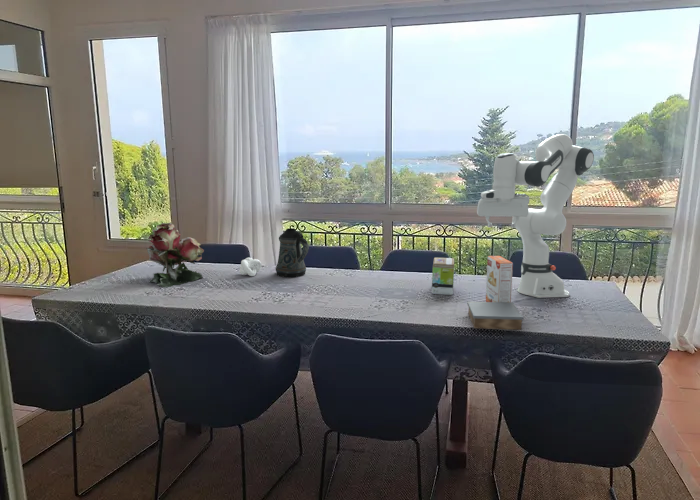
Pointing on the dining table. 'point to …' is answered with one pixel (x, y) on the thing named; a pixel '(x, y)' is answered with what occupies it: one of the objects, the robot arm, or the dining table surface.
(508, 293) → the cracker box
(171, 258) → the rose bouquet
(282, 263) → the beer stein
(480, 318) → the podium
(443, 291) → the tea box
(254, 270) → the white knot sculpture
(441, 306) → the dining table surface
